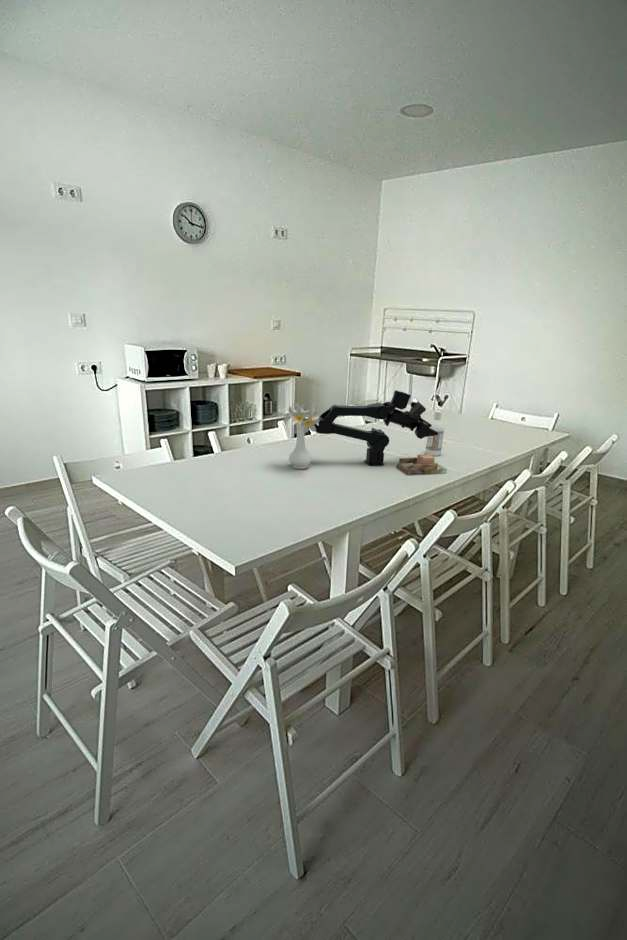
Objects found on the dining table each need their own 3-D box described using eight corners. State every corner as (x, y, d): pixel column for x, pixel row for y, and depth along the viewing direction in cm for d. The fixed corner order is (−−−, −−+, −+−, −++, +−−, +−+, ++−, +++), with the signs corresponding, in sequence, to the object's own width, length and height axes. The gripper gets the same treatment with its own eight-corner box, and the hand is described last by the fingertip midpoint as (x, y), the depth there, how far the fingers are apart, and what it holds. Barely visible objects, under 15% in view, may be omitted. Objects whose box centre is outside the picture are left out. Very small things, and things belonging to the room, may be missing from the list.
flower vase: (300, 476, 184) (301, 411, 176) (276, 463, 198) (276, 402, 190) (328, 470, 190) (330, 408, 182) (303, 458, 205) (304, 400, 197)
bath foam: (422, 452, 225) (427, 410, 219) (433, 451, 228) (439, 409, 222) (431, 456, 219) (437, 413, 213) (443, 455, 222) (449, 412, 216)
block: (422, 467, 195) (423, 458, 193) (416, 464, 199) (417, 454, 198) (433, 467, 196) (434, 457, 195) (427, 463, 201) (428, 454, 199)
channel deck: (407, 475, 191) (408, 465, 190) (396, 467, 200) (397, 458, 199) (446, 473, 196) (447, 463, 195) (433, 465, 205) (434, 456, 204)
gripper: (415, 408, 188) (450, 420, 192) (403, 393, 205) (436, 405, 208) (403, 433, 192) (438, 444, 196) (393, 417, 209) (424, 428, 213)
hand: (434, 429), depth 203 cm, fingers open, 9 cm apart
